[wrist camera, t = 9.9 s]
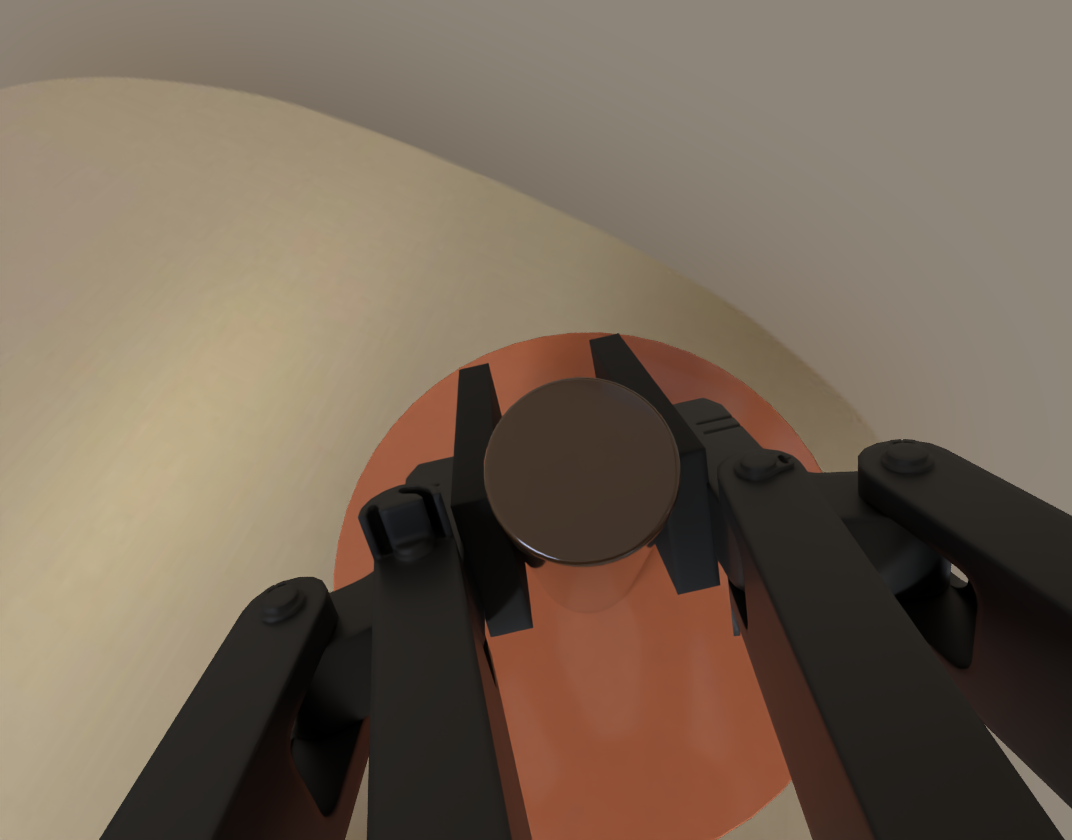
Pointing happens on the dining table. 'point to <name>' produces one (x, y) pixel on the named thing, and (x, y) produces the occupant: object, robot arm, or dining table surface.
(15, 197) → the dining table surface
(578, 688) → the lid
